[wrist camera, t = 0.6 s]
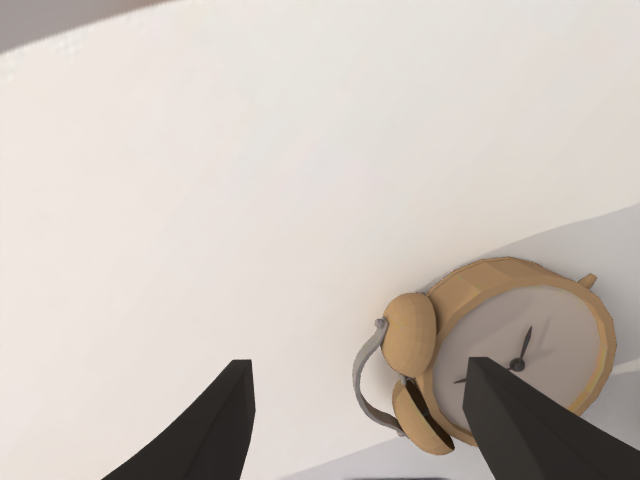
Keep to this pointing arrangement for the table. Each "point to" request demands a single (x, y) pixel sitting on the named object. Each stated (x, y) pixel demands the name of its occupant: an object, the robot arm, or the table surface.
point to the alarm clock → (488, 345)
